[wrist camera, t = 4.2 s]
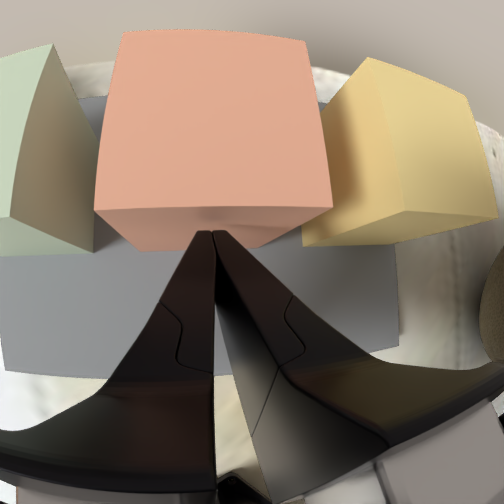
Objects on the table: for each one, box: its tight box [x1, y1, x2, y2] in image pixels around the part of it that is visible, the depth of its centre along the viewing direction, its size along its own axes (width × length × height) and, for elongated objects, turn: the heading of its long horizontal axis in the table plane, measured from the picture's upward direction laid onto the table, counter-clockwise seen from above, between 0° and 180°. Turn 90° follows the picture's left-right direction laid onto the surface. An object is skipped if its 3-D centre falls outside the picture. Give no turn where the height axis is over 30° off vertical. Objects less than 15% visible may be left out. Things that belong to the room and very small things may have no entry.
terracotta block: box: [94, 29, 333, 252], centre depth 12 cm, size 6×6×8 cm
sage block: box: [0, 44, 100, 257], centre depth 10 cm, size 6×6×8 cm
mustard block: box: [301, 57, 499, 247], centre depth 14 cm, size 6×6×8 cm
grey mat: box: [0, 96, 399, 379], centre depth 16 cm, size 16×24×1 cm, turn 93°
